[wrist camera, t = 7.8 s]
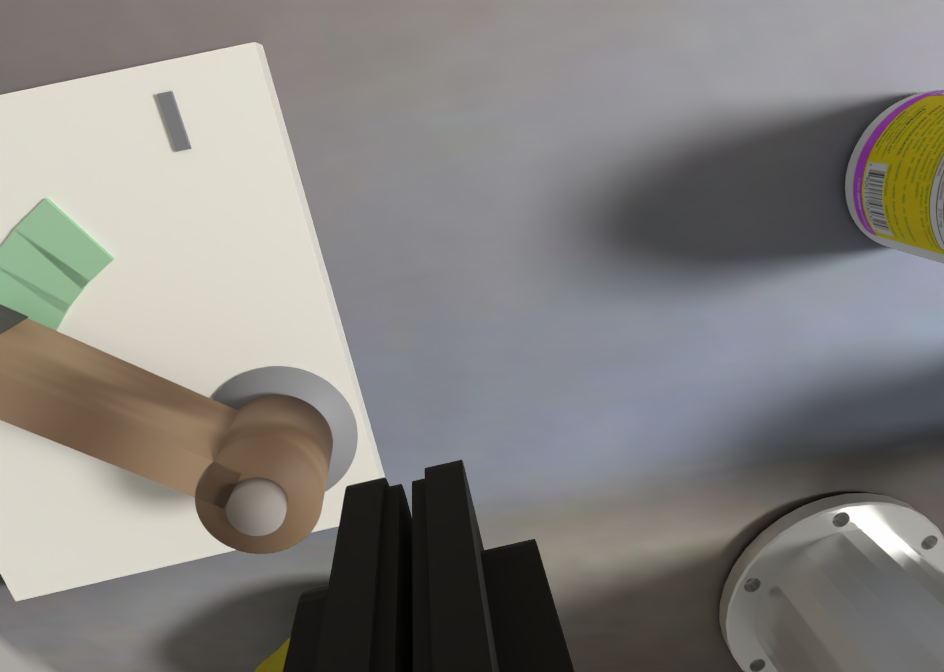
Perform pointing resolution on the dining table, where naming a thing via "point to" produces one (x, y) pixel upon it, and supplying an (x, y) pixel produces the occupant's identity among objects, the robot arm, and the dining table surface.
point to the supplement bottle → (901, 177)
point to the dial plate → (161, 294)
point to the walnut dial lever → (172, 434)
